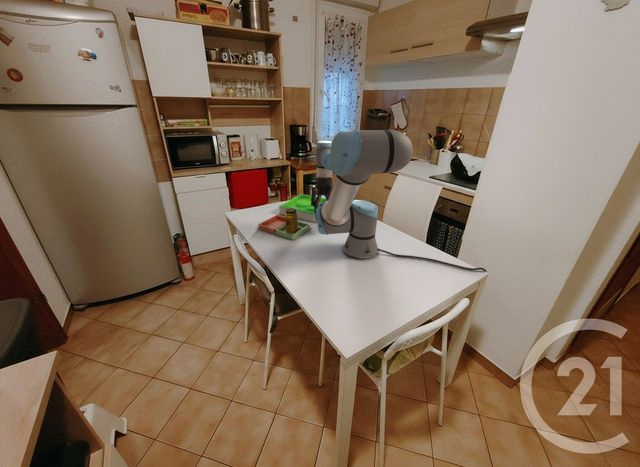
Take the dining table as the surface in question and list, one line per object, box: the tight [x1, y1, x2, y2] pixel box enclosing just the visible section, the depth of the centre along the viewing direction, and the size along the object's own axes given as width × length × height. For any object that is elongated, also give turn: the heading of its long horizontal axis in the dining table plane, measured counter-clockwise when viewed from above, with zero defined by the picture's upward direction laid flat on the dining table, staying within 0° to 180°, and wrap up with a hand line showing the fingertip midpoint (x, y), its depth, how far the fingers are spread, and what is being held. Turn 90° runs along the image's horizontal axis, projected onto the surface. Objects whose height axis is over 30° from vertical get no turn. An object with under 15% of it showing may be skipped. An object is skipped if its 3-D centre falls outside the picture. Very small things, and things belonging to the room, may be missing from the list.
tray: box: [278, 193, 327, 223], centre depth 161 cm, size 25×25×5 cm
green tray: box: [275, 220, 311, 241], centre depth 137 cm, size 11×15×2 cm
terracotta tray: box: [257, 214, 286, 235], centre depth 142 cm, size 11×15×2 cm
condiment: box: [284, 208, 303, 234], centre depth 134 cm, size 7×8×12 cm
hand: (323, 220), depth 133 cm, fingers closed on grapes, 7 cm apart
